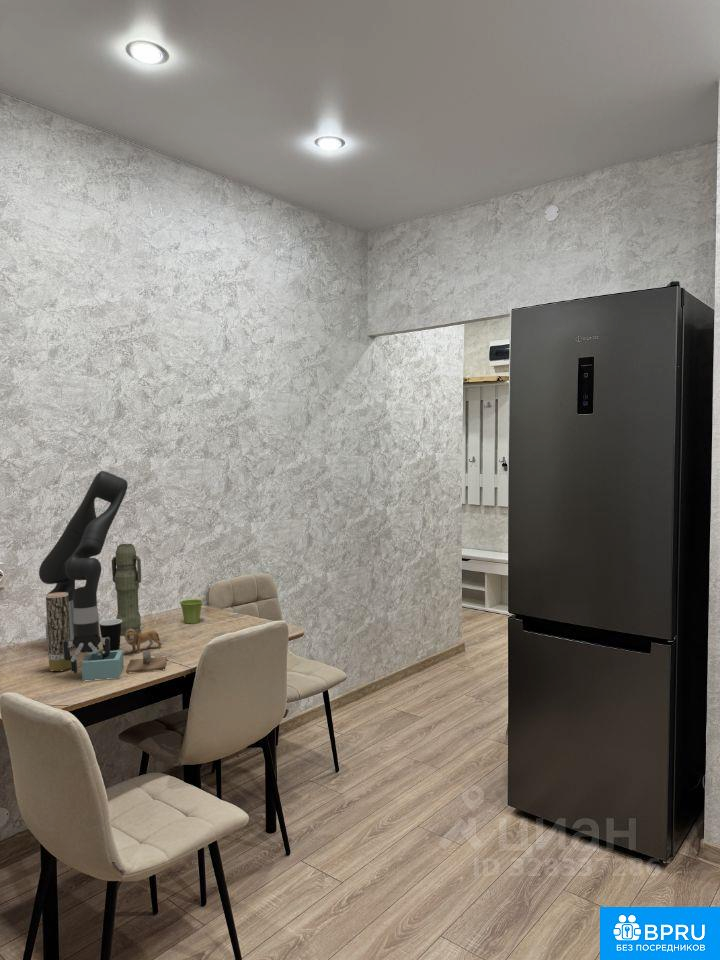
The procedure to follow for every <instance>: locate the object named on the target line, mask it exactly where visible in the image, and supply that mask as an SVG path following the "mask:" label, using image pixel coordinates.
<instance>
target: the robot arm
mask: <svg viewBox="0 0 720 960" xmlns="http://www.w3.org/2000/svg"><path fill="white" fill-rule="evenodd" d="M127 490H128V481H127V480H126V479H124V478H122V477H120V476H117V475H115V474H114V473H113V474H112V473H110V472H109V471H105V470H101V471H99V472H98V473H97V474H96V475H95V477H94V478H93V480H92V482H91V483H90V486H89V488H88V490H87V492H86V493H85V496H84V498H83V499H82V501H81V503H80V505H79V507H78V508H77V510H76V511H75V512H74V514H73V516H72V517H71V519H70V520H69V522H68V523H67V525H66V528H65V529H64V531H63V532H62V534H61V536H60V537H59V539H58V541H57V542H56V543H55V545H54V546H53V548H52V549H51V550H50V552H48V554H47V555H46V556H45V558H44V559H43V561H42V562H41V564H40V566H39V571H38V572H39V573H38V574H39V575H38V576H39V579H40V581H41V582H43V584H46V585H55V584H56V585H55V586H54V588H53V589H52V590H51V591H49V592H48V593H47V594H50V593H57V592H67V593H68V599H69V622H70V641H68V640H65V642H64V643H63V647H64V658H65V660H69V661H71V668H70V670H71V672H73V674H77V673H78V661H77V660H78V659H77V658H78V656H79V654H80V653H82V654H83V653H91V652H94V653H95V654H96V655H97V656H98V657H99V660H104V658H105V657H108V656H109V654H110V637H106V638H102V637H101V635H100V625H99V622H100V620H99V619H100V618H99V617H100V616H99V608H98V601H97V600H98V599H97V597H98V596H97V594H98V593H97V590H98V586H99V582H100V578H101V573H102V565H101V562H100V560H99V559H98V558H96V557H95V556H98V555H100V554H101V553H102V551H103V547H104V545H105V541H106V539H107V535H108V532H109V530H110V528H111V526H112V523H113V522H114V520H115V517H116V515H117V513H118V511H119V509H120V507H121V504H122V502H123V500H124V498H125V496H126V494H127ZM96 499H101V500H103V501H105V502H107V503H110V504H109V506H108V507H107V509H106V510H105V511H103V512H102V513H101V514H99V515H98V516H97V514H96V510H95V508H96V507H95V506H96V505H95V500H96ZM76 581H85V584H84V586H79V587H77V588H76ZM45 638H46V639H45V640H46V650H47V649H48V634H47V623H46V624H45ZM100 643H103V644H102V646H103V645H105V653H102V652H103V651H102V649H101V648H100V647H99V646H100V645H99V644H100ZM73 646H74V647H73ZM70 647H72V648H76V650H75V652H74V653H73V655H72V654H71V655H70V649H69V648H70Z"/></svg>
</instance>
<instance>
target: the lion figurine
mask: <svg viewBox="0 0 720 960" xmlns="http://www.w3.org/2000/svg"><path fill="white" fill-rule="evenodd" d="M124 638H125V643H127V644H128V645H130V646H131V648H132V650H131V651H130V652H131V653H135V652H136V654H140V653H141V644H144V643H146V642H149V645H147V646H146V648H147V649H150V648H151V647H152V645H153V644H154V643H155V644H157V649H160V648H161V647H162V642H161V641H160V640H161V639H160V636H159V633H158V632H157V631H156V630H154V629H150V630H147V631H144V632H138V631H137V630H134V629H128V630H127V631H126V632H125V636H124ZM153 642H154V643H153Z"/></svg>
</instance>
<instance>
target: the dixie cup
mask: <svg viewBox="0 0 720 960" xmlns="http://www.w3.org/2000/svg"><path fill="white" fill-rule="evenodd" d="M121 622H122V620H120V619H116V618H109V619H105V620H100V621H99V632H100V637H101V638H106V637H110V651H117V650H120V648H121V636H120V635H121ZM101 643H102V642H101ZM102 649H103V652H104V651H105V645H103V643H102Z"/></svg>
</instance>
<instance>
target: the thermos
mask: <svg viewBox="0 0 720 960" xmlns="http://www.w3.org/2000/svg"><path fill="white" fill-rule="evenodd" d="M111 574H112V575H111V576H112V582H114V588H115V591H116V604H117V608H116V609H117V616H116V618H115V619H120V620H122V622H121V635H120V637H125V632H126V631H127V630H128V629H134V630H137V631H138V632H140V633H142V632H141V624H142V622H141V614H140V611H139V610H140V609H139V608H140V607H139V588H140V583H141V582H142V563H141V558H140V557H139V556H138V555H137V551H136V548H135V546H134V544H132V543H119V545H117V546H116V549H115V556H113V557H112V559H111Z"/></svg>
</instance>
